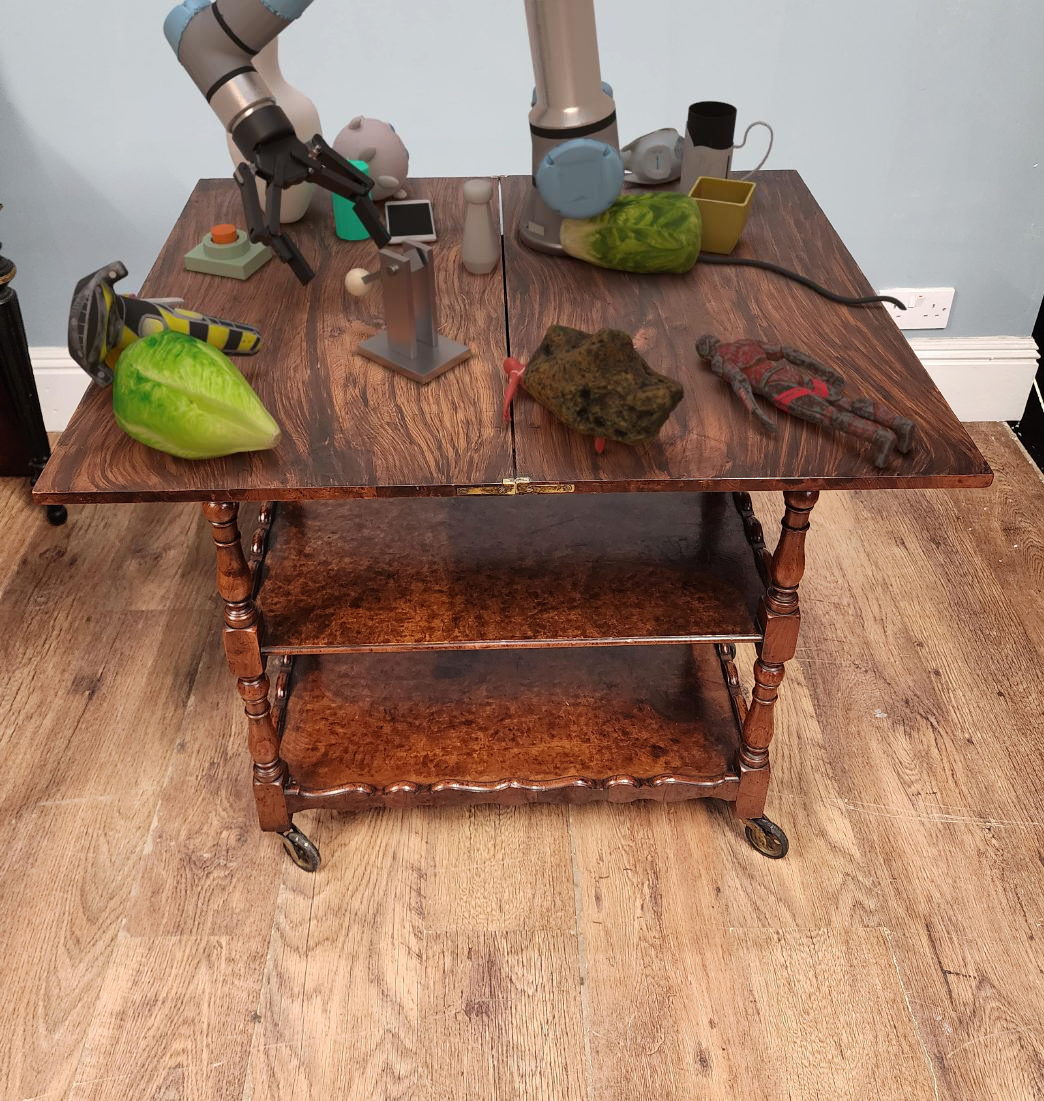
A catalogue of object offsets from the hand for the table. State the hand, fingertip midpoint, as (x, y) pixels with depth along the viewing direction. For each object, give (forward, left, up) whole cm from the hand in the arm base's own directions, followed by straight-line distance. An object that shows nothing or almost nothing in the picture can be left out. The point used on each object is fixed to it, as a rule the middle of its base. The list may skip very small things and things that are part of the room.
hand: (348, 262), depth 141 cm
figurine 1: (-41, +14, -8) cm, 44 cm away
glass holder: (-38, -56, -10) cm, 69 cm away
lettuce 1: (+5, +27, -9) cm, 29 cm away
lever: (-7, +2, -1) cm, 7 cm away
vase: (+26, -27, -10) cm, 39 cm away
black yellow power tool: (+6, +27, +2) cm, 27 cm away
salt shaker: (-9, -22, -10) cm, 26 cm away
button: (+27, -11, -6) cm, 30 cm away
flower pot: (-41, -41, -10) cm, 59 cm away
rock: (-47, +19, 0) cm, 50 cm away
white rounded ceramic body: (-26, -58, -5) cm, 64 cm away
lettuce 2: (-30, -30, -10) cm, 44 cm away
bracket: (-10, +4, -10) cm, 15 cm away
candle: (+14, -27, -10) cm, 32 cm away
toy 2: (+15, +14, -6) cm, 22 cm away
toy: (+13, -33, -3) cm, 36 cm away
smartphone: (+7, -33, -10) cm, 35 cm away
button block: (+27, -11, -10) cm, 30 cm away
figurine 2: (-72, +7, -7) cm, 73 cm away
